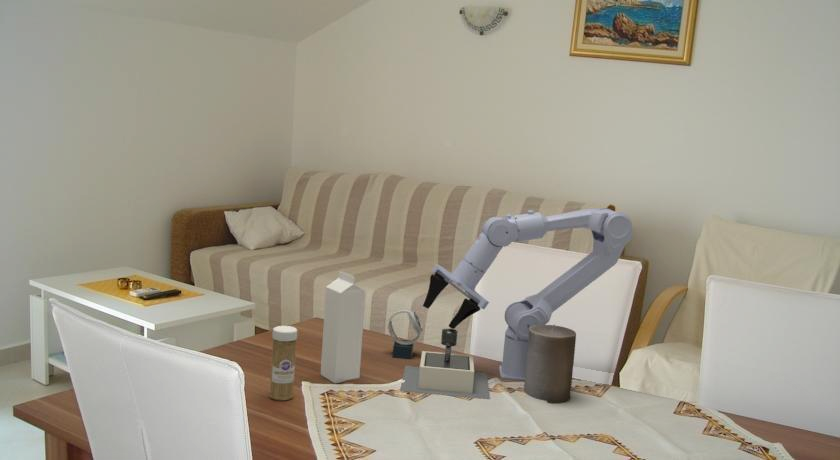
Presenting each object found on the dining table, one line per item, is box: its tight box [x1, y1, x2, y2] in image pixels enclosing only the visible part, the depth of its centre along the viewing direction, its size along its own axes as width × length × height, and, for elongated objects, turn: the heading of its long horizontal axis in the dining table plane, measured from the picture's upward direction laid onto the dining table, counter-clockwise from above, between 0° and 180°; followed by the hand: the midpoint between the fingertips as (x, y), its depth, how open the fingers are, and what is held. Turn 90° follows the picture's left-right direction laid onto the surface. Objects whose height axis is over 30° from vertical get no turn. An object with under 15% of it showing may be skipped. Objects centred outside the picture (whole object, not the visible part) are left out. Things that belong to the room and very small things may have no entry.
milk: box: [320, 270, 366, 384], centre depth 152 cm, size 6×6×22 cm
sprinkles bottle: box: [269, 325, 298, 401], centre depth 139 cm, size 5×5×13 cm
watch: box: [387, 308, 424, 360], centre depth 170 cm, size 6×8×11 cm
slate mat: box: [399, 365, 491, 400], centre depth 154 cm, size 18×16×1 cm
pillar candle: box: [523, 324, 577, 403], centre depth 152 cm, size 10×10×15 cm
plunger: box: [426, 328, 468, 370], centre depth 153 cm, size 9×9×7 cm
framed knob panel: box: [418, 350, 475, 393], centre depth 154 cm, size 11×11×4 cm
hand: (438, 317), depth 160 cm, fingers open, 7 cm apart
